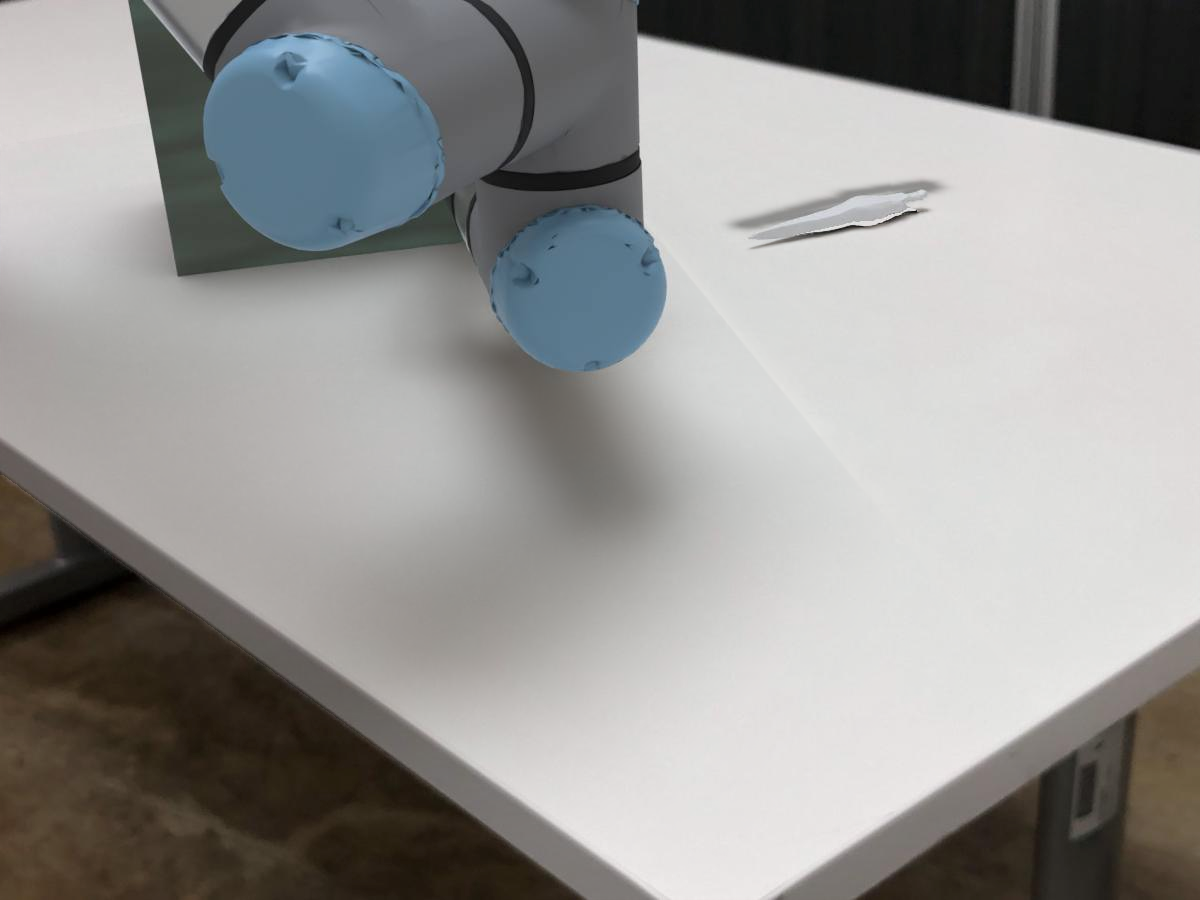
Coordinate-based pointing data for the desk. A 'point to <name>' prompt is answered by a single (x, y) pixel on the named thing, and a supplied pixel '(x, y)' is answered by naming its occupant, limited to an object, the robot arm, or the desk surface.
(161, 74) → the cupboard door
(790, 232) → the grey tapered strip
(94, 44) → the desk surface
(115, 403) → the desk surface
